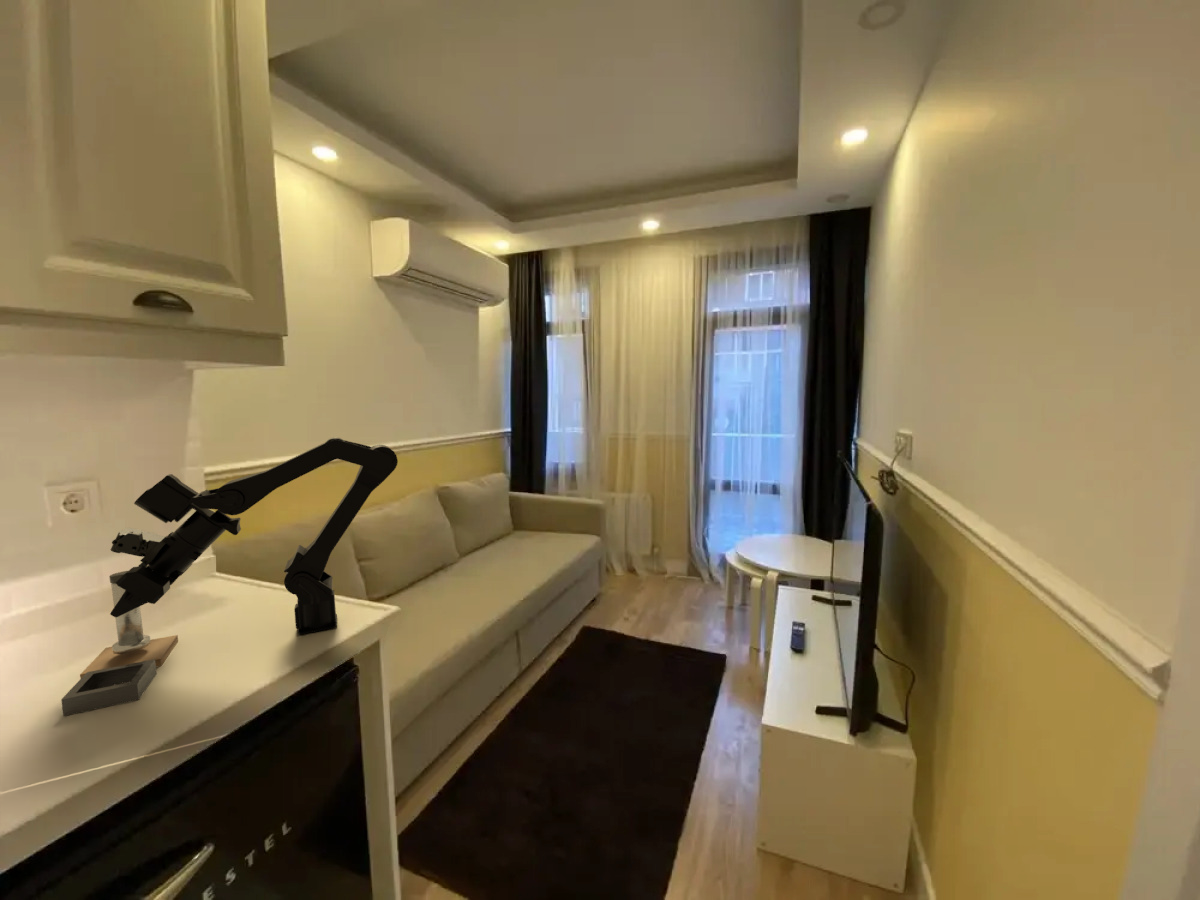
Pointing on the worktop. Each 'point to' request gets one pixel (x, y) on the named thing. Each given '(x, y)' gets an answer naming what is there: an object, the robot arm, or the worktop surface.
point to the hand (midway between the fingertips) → (117, 611)
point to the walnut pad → (134, 655)
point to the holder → (92, 698)
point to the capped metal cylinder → (127, 623)
